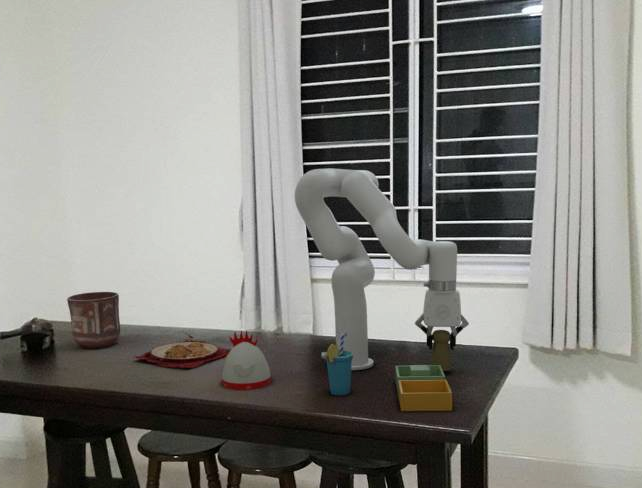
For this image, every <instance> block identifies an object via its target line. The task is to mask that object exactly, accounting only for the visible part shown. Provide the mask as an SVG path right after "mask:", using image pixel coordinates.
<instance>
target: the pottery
mask: <svg viewBox="0 0 642 488" xmlns="http://www.w3.org/2000/svg"><path fill="white" fill-rule="evenodd" d="M66 300H67V301H66V302H67V305H68V310H69V315H70V323H71V335H72V336H71V337H72V338H73V340H74V342H75V343H76V345H78V346H80V347H81V348H82V349H91V350H92V349H103V348H108V347H111V346H114V345H115V343H116V342H117V341H118V339H119V337H120V335H121V322H120V321H121V319H120V296H119V293H118V292H115V291H92V292H83V293H78V294H73V295H71V296H69V297H67V299H66ZM114 342H115V343H114Z"/></svg>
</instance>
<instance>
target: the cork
mask: <svg viewBox="0 0 642 488" xmlns="http://www.w3.org/2000/svg"><path fill="white" fill-rule="evenodd" d="M431 333H432V337H433V340H432V342H433V343H432V350H431V357H430V363H429V365H441V368H442V370H443V372H446V371H451V370H452V360H451V352H450V339H451V331H448V330H446V329H436V330H434V331H432V332H431Z"/></svg>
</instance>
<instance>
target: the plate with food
mask: <svg viewBox="0 0 642 488" xmlns="http://www.w3.org/2000/svg"><path fill="white" fill-rule="evenodd" d="M187 336H188V338H186V339H184V341H177V342H171V343H165V344H161V345H157V346H155V347H152V348H151V349H150V350H149V351H147V352H145V353H144V354H141V355H133V358H134V359H135V358H136V359H140V360H142V361H146V362H150V363H154V364H155V365H157V366H160V367H164V368H174V369H176V368H178V369H186V368H187V369H194V368H196V367H200V366H202V365H203V364H204V363H208V362H210V361H213V360H216V359H221V358H223V357H226V356H227V355H228V354H229V352H230V351H231V349H232V348H229V349H228V348H227V349H226V348H221V347H218V346H217V345H215V344H213V343H208V341H206V340H205V339H203V341H202V340H193V339H194V336H192V335H190V334H187ZM156 363H157V364H156Z"/></svg>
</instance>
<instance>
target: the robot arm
mask: <svg viewBox="0 0 642 488" xmlns="http://www.w3.org/2000/svg"><path fill="white" fill-rule="evenodd" d="M329 197H333V198H334V197H335V198H346V199H347V200H348V201H349V203H351V205H352V206H353V207H354V208H355V209H356V210H357V211H358V213H360V215H361V216H362V218H363V219H365V220H366V222H367V223H368V224H369V225H370V227H371V228H372V230H373V232H374V234H375V237H377V240H378V241H379V243H380V244H381V246H382V248H383V249H384V250H385V251H386V252H387V253H388V255H389V256H390V257H391V258H392V259H393V260H394V261H395V262H396V263H397V265H399V266H400V267H402V268H403V269H405V270H409V271H411V270H412V271H413V270H416V269H418V268H420V267H423V266H425V265H428V280H426V281H423V287H426V288H427V289H426V290H425V295H424V300H423V310H422V311H423V312H422V313H421V314H420V316H419V317H417V318H416V320H415V321H414V325H415V326H416V327H418V328H419V329H420V330H421V331H422V332H423V333H424V334H425V335H426V347H428V349H429V351H432V350H433V337H432V333H433V329H434V328H450V335H451V339H450V341H449V350H451V351H454V347H456V346H457V336H458V335H459V334H460V333H461V332H462V331H463V330H464V329H465V328H467V327H468V326H469V324H470V323H469V321H468V320H467V319H466V317H464V316H463V314H462V306H461V305H462V304H461V302H462V301H461V295H460V291H459V290H458V289H457V272H458V271H457V270H458V246H457V244H456V243H455V242H454V241H450V240H449V241H448V240H439V241H432V240H426V239H420V238H419V239H412V238H411V237H410V236H409V235H408V234H407V232H406V231H405V229H404V228H403V227H402V226H401V224H400V222H399V221H398V217H397V210H396V206H395V205H394V204H393V203H392V202H391V201H390V200H389V198H388V197H387V196H386V195H385V194H384V193H383V192H382V190H381V189H380V188H379V180H378V177H377V176H376V175H375V173H373V172H371V171H369V170H366V169H364V170H363V169H343V168H334V167H333V168H332V167H330V168H328V167H327V168H315V169H311V170H308V171H307V172H306V173H304V174H303V175H302V176H301V177H300V178H299V180H298V181H297V184H296V186H295V190H294V202H295V207H296V209H297V211H298V213H299V215H300V217H301V219H302V220H303V222H304V224H305V226H306V227H307V230H308V232H309V234H310V237H311V238H312V240H313V242H314V244H315V246H316V249H318V252H319V253H320V254H321V257H323V258H324V259H325V260H327V261H330V262H331V261H333V262H334V261H337V263H338V265H336V267H335V268H334V270H333V271H332V274H331V279H330V280H331V281H330V282H331V284H330V285H331V289H332V295H333V306H334V324H335V325H334V328H335V330H334V331H335V345H338V349H339V350H340V343H341V335H342V334H345V333H346V334H347V336H345V337H344V343H343V350H344V351H350V352H352V354H353V359H352V366H351V371H361V370H367V369H370V368H372V367H373V366H374V364H375V362H374V360H373V359H372V358H369V336H368V335H369V334H368V305H367V299H366V293H365V292H366V291H365V288H367V287H368V286H369V285H370V284H371V283H372V282H373V281H374V278H375V275H376V271H375V267H374V265H373V264H374V263H373V261H372V260H371V258H370V257H369V254H368V252H367V251H366V249H365V246H364V245H363V242H362V241H361V239H360V237H359V236H358V234H357V233H356V232H355V231H354V230H353V229H352V228H350V227H348V226H345V225H339V224H338V221H337V220H336V218H335V216H334V214H333V212H332V211H331V210H332V209H330V207H328V205H327V204H326V203H325V200H324V198H329ZM422 322H423V323H424V324H423V323H422ZM426 326H427V327H426ZM325 353H327V351H326V352H325V351H322V352H321V354H320V355H321V359H324V360H325V361H327V360H326V358H325Z"/></svg>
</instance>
